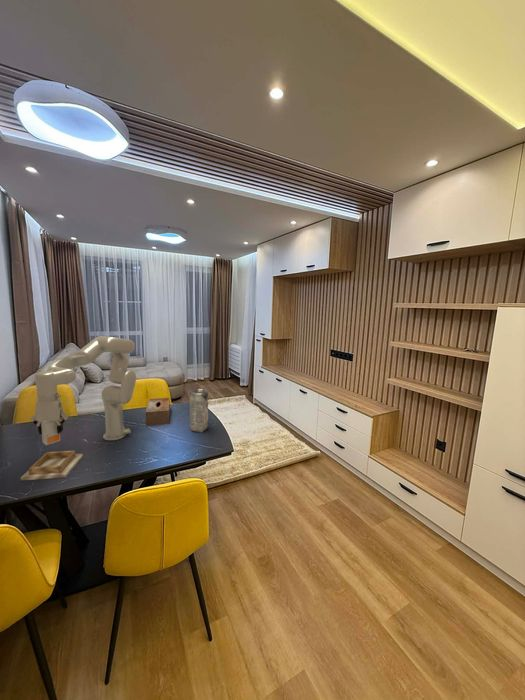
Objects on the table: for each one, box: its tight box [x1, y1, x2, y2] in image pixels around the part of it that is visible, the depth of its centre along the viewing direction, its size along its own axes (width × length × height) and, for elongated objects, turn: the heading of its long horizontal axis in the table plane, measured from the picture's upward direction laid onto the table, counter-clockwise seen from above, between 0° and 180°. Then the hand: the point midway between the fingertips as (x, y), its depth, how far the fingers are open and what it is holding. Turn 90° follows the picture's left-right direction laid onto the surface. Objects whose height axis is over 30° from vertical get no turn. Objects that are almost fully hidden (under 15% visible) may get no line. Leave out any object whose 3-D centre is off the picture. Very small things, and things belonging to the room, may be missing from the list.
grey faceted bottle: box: [189, 388, 209, 433], centre depth 179 cm, size 9×10×27 cm
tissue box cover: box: [145, 397, 171, 427], centre depth 197 cm, size 26×14×10 cm, turn 17°
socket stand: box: [20, 450, 84, 481], centre depth 135 cm, size 18×18×4 cm
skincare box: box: [41, 420, 61, 446], centre depth 132 cm, size 6×4×12 cm
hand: (51, 432), depth 132 cm, fingers closed on skincare box, 7 cm apart
